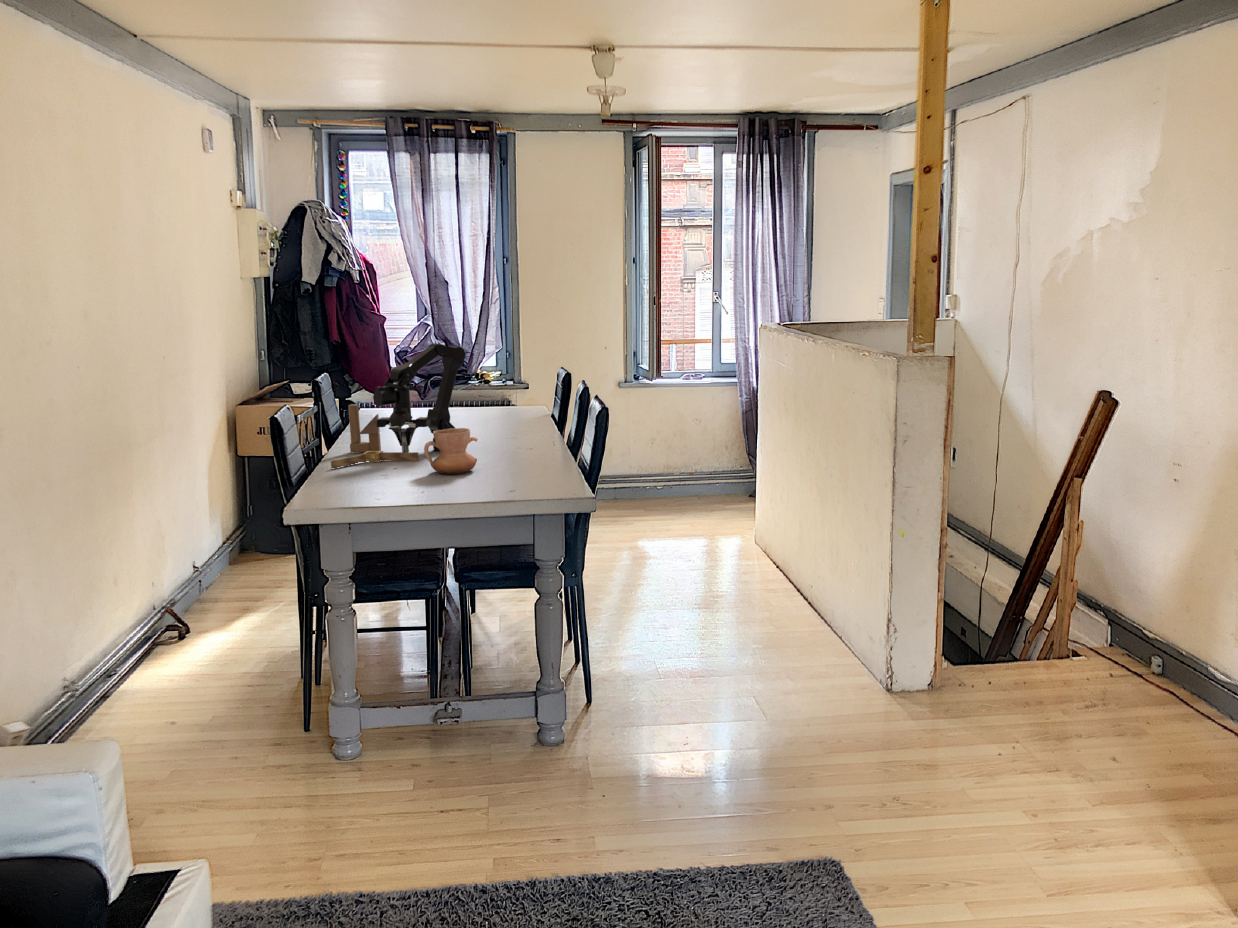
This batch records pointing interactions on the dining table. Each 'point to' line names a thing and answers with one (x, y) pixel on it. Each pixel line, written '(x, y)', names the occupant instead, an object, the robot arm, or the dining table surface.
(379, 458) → the tan piece
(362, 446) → the wooden block
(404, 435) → the hinge pin
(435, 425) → the robot arm
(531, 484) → the dining table surface
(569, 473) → the dining table surface
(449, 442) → the ceramic jug
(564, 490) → the dining table surface
